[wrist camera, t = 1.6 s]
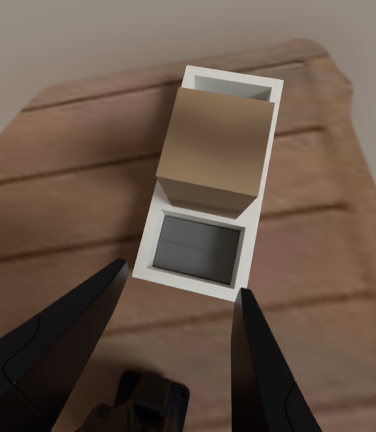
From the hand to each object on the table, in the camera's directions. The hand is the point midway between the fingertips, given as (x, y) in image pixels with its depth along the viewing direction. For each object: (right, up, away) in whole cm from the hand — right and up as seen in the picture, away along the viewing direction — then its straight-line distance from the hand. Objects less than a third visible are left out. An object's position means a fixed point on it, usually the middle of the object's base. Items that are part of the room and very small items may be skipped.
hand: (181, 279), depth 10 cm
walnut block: (+2, +6, +12) cm, 13 cm away
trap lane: (+3, +6, +15) cm, 16 cm away
